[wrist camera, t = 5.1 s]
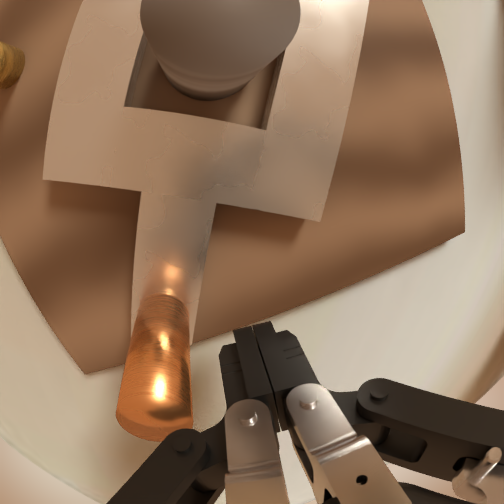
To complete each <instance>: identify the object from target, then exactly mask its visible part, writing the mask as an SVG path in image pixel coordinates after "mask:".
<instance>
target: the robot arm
mask: <svg viewBox="0 0 504 504" xmlns="http://www.w3.org/2000/svg"><path fill="white" fill-rule="evenodd" d="M252 327H253V330H252ZM252 327H251V326H249V327H244V328H240V329H236V330H233V332H234V337H235V341H236V343H233V344H228V345H224V346H223V347H222V349H221V351H220V354H219V360H220V366H221V373H222V380H223V386H224V392H225V398H226V404H227V410H226V414H225V416H224V417H223V419H222V420H221V421H220V422H219V423H218V424H216V425H215V426H213V427H211V428H209V429H207V430H205V431H203V432H201V433H200V432H198V431H196V430H194V429H189V428H184V429H179V430H176V431H174V432H172V433H170V434H169V435H168V436H167V437H166V438H165V439H164V440H163V441H162V442H161V444H160V445H159V446H158V447H157V448H156V449H155V451H154V452H153V453H152V454H151V455H150V456H149V457H148V459H147V460H146V461H145V462H144V463H143V464H142V465H141V466H140V468H139V469H138V470H137V471H136V472H135V473H134V474H133V475H132V477H131V478H130V479H129V480H128V481H127V482H126V483H125V484H124V485H123V486H122V487H121V489H120V490H119V491H118V492H117V493H116V494H115V495H114V496H113V497H112V498H111V499H110V500H109V501H108V503H107V504H214V503H215V501H216V500H217V499H218V497H219V496H220V494H221V493H222V492H223V490H224V489H225V493H226V504H290V502H289V498H288V493H287V489H286V484H285V479H284V474H283V470H282V465H281V460H280V455H279V442H278V437H277V432H280V427H281V430H282V431H284V430H289V433H290V436H291V439H292V445H293V448H294V450H295V453H296V455H297V457H298V459H299V461H300V463H301V465H302V468H303V470H304V472H305V474H306V476H307V478H308V480H309V482H310V485H311V487H312V489H313V493H314V496H315V499H316V501H317V503H318V504H504V411H503V410H499V409H494V408H490V407H485V406H481V405H477V404H473V403H469V402H465V401H461V400H457V399H453V398H449V397H446V396H442V395H438V394H435V393H431V392H428V391H424V390H421V389H417V388H414V387H411V386H407V385H404V384H401V383H398V382H394V381H391V380H388V379H384V378H376V379H371V380H369V381H366V382H365V383H364V384H362V385H361V387H360V388H359V390H358V391H352V392H334V391H330V390H328V389H326V388H325V387H323V386H322V385H321V384H320V383H319V381H318V380H317V378H316V376H315V374H314V372H313V370H312V368H311V366H310V364H309V362H308V360H307V358H306V356H305V354H304V352H303V350H302V348H301V346H300V344H299V342H298V340H297V338H296V336H295V335H293V334H292V333H290V332H289V331H288V330H285V331H281V332H278V333H276V332H275V330H274V328H273V325H272V323H271V321H269V322H265V323H261V324H256V325H252ZM253 332H254V333H253ZM278 420H279V422H278ZM279 423H280V427H279ZM383 460H384V461H386V462H389V463H392V464H395V465H398V466H401V467H404V468H407V469H410V470H413V471H416V472H419V473H422V474H426V475H429V476H432V477H436V478H439V479H443V480H447V481H451V482H452V487H453V490H454V492H455V494H456V495H457V496H459V497H461V498H463V499H466V500H467V501H464V500H460V499H457V498H453V497H450V496H446V495H443V494H440V493H437V492H434V491H431V490H428V489H425V488H422V487H419V486H416V485H413V484H409V483H402V482H397V480H396V479H395V477H394V476H393V474H392V473H391V472H390V470H389V469H388V467H387V466H386V464H385V463H384V461H383Z"/></svg>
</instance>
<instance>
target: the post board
mask: <svg viewBox="0 0 504 504" xmlns="http://www.w3.org/2000/svg"><path fill="white" fill-rule="evenodd" d="M82 1H83V0H0V41H1V42H4V43H7V44H9V45H12V46H14V47H17V48H19V49H21V50H22V51H23V52H24V55H25V66H24V69H23V72H22V74H21V76H20V77H19V79H18V80H17V81H16V83H15V84H13V85H12V86H11V87H9V88H7V89H0V236H1V238H2V240H3V242H4V245H5V247H6V249H7V251H8V253H9V255H10V257H11V259H12V261H13V263H14V265H15V267H16V269H17V271H18V273H19V275H20V276H21V278H22V280H23V282H24V284H25V286H26V287H27V289H28V291H29V293H30V294H31V296H32V298H33V299H34V301H35V303H36V304H37V306H38V308H39V309H40V311H41V313H42V314H43V316H44V317H45V319H46V321H47V322H48V324H49V325H50V327H51V328H52V330H53V331H54V333H55V334H56V336H57V337H58V338H59V340H60V341H61V343H62V344H63V346H64V347H65V348H66V350H67V351H68V353H69V354H70V355H71V357H72V358H73V359H74V361H75V362H76V363H77V365H78V366H79V367H80V368H81V370H82V371H83V372H84V374H87V373H91V372H95V371H99V370H103V369H107V368H111V367H114V366H118V365H122V364H125V363H126V358H127V354H128V349H129V345H130V341H131V307H132V285H133V269H134V256H135V244H136V234H137V224H138V215H139V207H140V199H141V192H142V191H135V190H128V189H120V188H112V187H105V186H97V185H88V184H80V183H71V182H62V181H53V180H43V167H44V157H45V148H46V140H47V133H48V126H49V120H50V114H51V109H52V104H53V99H54V94H55V89H56V85H57V80H58V76H59V72H60V68H61V65H62V61H63V57H64V54H65V50H66V47H67V44H68V40H69V37H70V34H71V31H72V28H73V25H74V22H75V20H76V17H77V14H78V11H79V9H80V6H81V4H82ZM300 17H301V8H300V2H299V0H142V1H141V7H140V21H141V25H142V29H143V31H144V34H145V36H146V38H147V40H148V41H147V44H146V47H145V51H144V54H143V58H142V61H141V65H140V69H139V73H138V77H137V81H136V85H135V89H134V93H133V97H132V102H131V107H133V108H142V109H151V110H159V111H166V112H173V113H180V114H186V115H192V116H198V117H204V118H210V119H215V120H220V121H225V122H230V123H235V124H240V125H245V126H249V127H254V128H258V129H261V124H262V120H263V116H264V112H265V107H266V103H267V99H268V95H269V91H270V86H271V82H272V78H273V74H274V70H275V66H276V62H277V58H278V55H279V54H281V53H282V52H283V51H284V50H285V49H286V48H287V47H288V45H289V44H290V43H291V41H292V40H293V38H294V36H295V34H296V32H297V30H298V27H299V23H300ZM464 232H465V206H464V186H463V173H462V162H461V153H460V145H459V137H458V131H457V124H456V119H455V113H454V108H453V103H452V98H451V93H450V89H449V84H448V80H447V76H446V72H445V68H444V64H443V61H442V57H441V54H440V51H439V47H438V44H437V41H436V38H435V35H434V32H433V29H432V26H431V23H430V20H429V18H428V15H427V12H426V10H425V7H424V5H423V2H422V0H369V5H368V11H367V17H366V23H365V29H364V35H363V41H362V46H361V51H360V57H359V62H358V67H357V72H356V77H355V82H354V87H353V91H352V96H351V101H350V105H349V110H348V114H347V118H346V123H345V127H344V131H343V136H342V140H341V144H340V148H339V152H338V156H337V160H336V164H335V168H334V172H333V176H332V180H331V184H330V187H329V191H328V195H327V199H326V202H325V206H324V210H323V213H322V217H321V221H320V222H318V221H313V220H308V219H303V218H297V217H292V216H287V215H282V214H276V213H271V212H266V211H260V210H255V209H249V208H243V207H238V206H232V205H226V204H220V203H216V208H215V213H214V218H213V223H212V229H211V234H210V239H209V245H208V250H207V256H206V261H205V267H204V272H203V278H202V284H201V290H200V296H199V302H198V308H197V315H196V321H195V327H194V334H193V341H192V343H195V342H198V341H201V340H205V339H208V338H211V337H214V336H217V335H220V334H223V333H225V332H228V331H231V330H234V329H237V328H240V327H243V326H246V325H248V324H251V323H254V322H257V321H260V320H262V319H265V318H268V317H271V316H273V315H276V314H279V313H281V312H284V311H287V310H289V309H292V308H294V307H297V306H300V305H302V304H305V303H307V302H310V301H312V300H315V299H317V298H320V297H322V296H325V295H327V294H330V293H332V292H335V291H337V290H340V289H342V288H344V287H347V286H349V285H352V284H354V283H356V282H359V281H361V280H363V279H366V278H368V277H370V276H373V275H375V274H377V273H380V272H382V271H384V270H386V269H389V268H391V267H393V266H395V265H397V264H400V263H402V262H404V261H406V260H408V259H410V258H413V257H415V256H417V255H419V254H421V253H423V252H425V251H427V250H430V249H432V248H434V247H436V246H438V245H440V244H442V243H444V242H446V241H448V240H450V239H452V238H454V237H456V236H458V235H460V234H462V233H464Z"/></svg>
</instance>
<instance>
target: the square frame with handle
mask: <svg viewBox="0 0 504 504" xmlns="http://www.w3.org/2000/svg"><path fill="white" fill-rule="evenodd" d="M141 1H142V0H83V1H82V4H81V6H80V9H79V11H78V14H77V17H76V20H75V22H74V25H73V28H72V31H71V34H70V37H69V40H68V44H67V47H66V50H65V54H64V57H63V61H62V65H61V68H60V72H59V76H58V80H57V85H56V89H55V94H54V99H53V104H52V109H51V114H50V120H49V126H48V133H47V140H46V148H45V157H44V167H43V180H53V181H62V182H71V183H80V184H88V185H97V186H105V187H112V188H120V189H128V190H135V191H142V192H141V199H140V207H139V215H138V224H137V234H136V244H135V256H134V269H133V285H132V307H131V341H130V345H129V349H128V354H127V358H126V363H125V368H124V373H123V378H122V383H121V388H120V393H119V399H118V404H117V410H116V418H117V420H118V422H119V424H120V425H121V426H122V427H123V428H124V429H125V430H126V431H127V432H129V433H131V434H132V435H134V436H137V437H139V438H142V439H146V440H150V441H163V440H164V439H165V438H166V437H167V436H168V435H169V434H170V433H172V432H174V431H176V430H179V429H184V428H189V429H192V426H193V413H192V394H191V371H190V345H192V341H193V334H194V327H195V321H196V315H197V308H198V302H199V296H200V290H201V284H202V278H203V272H204V267H205V261H206V256H207V250H208V245H209V239H210V234H211V229H212V223H213V218H214V213H215V208H216V203H220V204H226V205H232V206H238V207H243V208H249V209H255V210H260V211H266V212H271V213H276V214H282V215H287V216H292V217H297V218H303V219H308V220H313V221H318V222H320V221H321V217H322V213H323V210H324V206H325V202H326V199H327V195H328V191H329V187H330V184H331V180H332V176H333V172H334V168H335V164H336V160H337V156H338V152H339V148H340V144H341V140H342V136H343V131H344V127H345V123H346V118H347V114H348V110H349V105H350V101H351V96H352V91H353V87H354V82H355V77H356V72H357V67H358V62H359V57H360V51H361V46H362V41H363V35H364V29H365V23H366V17H367V11H368V5H369V0H299V2H300V8H301V17H300V23H299V27H298V30H297V32H296V34H295V36H294V38H293V40H292V41H291V43H290V44H289V45H288V47H287V48H286V49H285V50H284V51H283V52H282V53H281V54H279V55H278V58H277V62H276V66H275V70H274V74H273V78H272V82H271V86H270V91H269V95H268V99H267V103H266V107H265V112H264V116H263V120H262V124H261V129H258V128H254V127H249V126H245V125H240V124H235V123H230V122H225V121H220V120H215V119H210V118H204V117H198V116H192V115H186V114H180V113H173V112H166V111H159V110H151V109H142V108H133V107H131V102H132V97H133V93H134V89H135V85H136V81H137V77H138V73H139V69H140V65H141V61H142V58H143V54H144V51H145V47H146V44H147V41H148V40H147V38H146V36H145V34H144V31H143V29H142V25H141V21H140V7H141Z"/></svg>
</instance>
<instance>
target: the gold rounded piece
mask: <svg viewBox="0 0 504 504" xmlns="http://www.w3.org/2000/svg"><path fill="white" fill-rule="evenodd" d="M24 66H25V55H24V52H23V51H22V50H21V49H19V48H17V47H14V46H12V45H9V44H7V43H4V42H1V41H0V89H7V88H9V87H11V86H12V85H13V84H15V83H16V81H17V80H18V79H19V77H20V76H21V74H22V72H23V69H24Z"/></svg>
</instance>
